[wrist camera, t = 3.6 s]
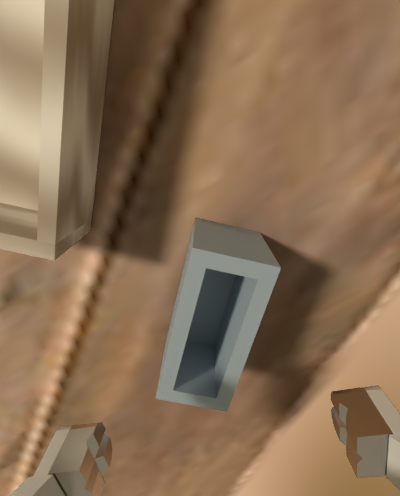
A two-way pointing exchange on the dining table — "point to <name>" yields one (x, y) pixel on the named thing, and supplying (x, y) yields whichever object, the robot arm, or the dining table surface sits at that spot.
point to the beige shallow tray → (50, 120)
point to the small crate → (216, 314)
